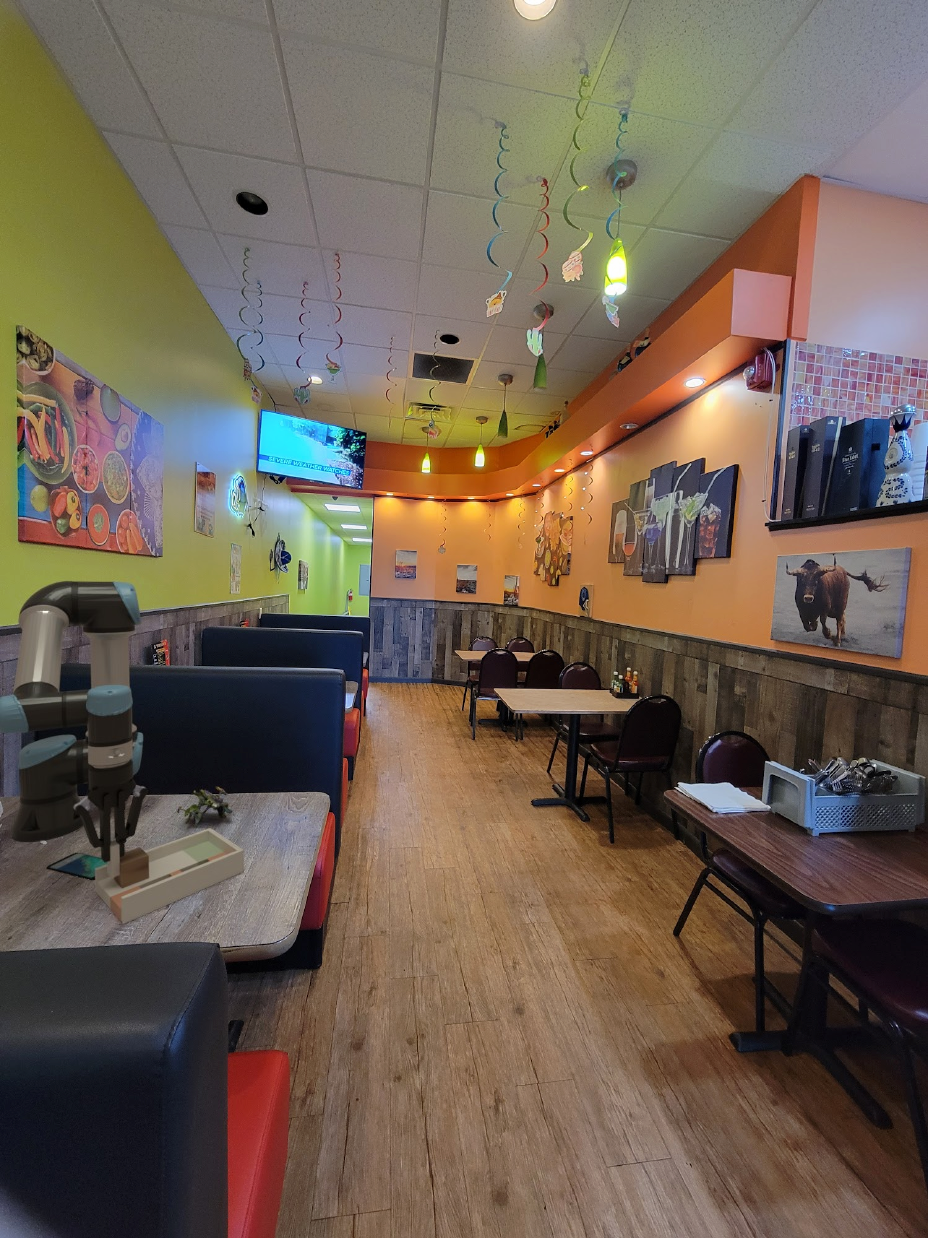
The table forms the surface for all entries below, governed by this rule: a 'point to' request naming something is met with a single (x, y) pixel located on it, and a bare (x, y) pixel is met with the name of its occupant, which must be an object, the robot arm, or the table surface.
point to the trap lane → (172, 874)
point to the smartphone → (78, 865)
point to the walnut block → (133, 867)
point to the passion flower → (211, 801)
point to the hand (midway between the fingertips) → (113, 874)
